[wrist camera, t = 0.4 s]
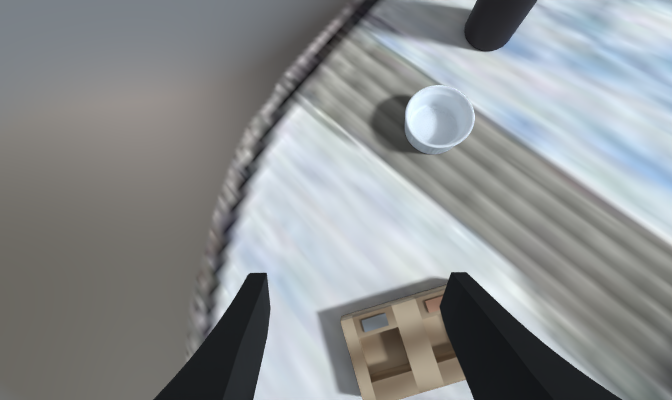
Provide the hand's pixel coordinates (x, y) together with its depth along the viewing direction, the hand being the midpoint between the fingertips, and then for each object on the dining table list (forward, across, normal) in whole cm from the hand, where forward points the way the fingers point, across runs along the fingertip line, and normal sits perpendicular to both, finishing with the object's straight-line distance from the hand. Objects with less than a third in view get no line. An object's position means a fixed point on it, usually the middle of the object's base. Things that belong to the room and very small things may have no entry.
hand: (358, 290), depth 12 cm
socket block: (+14, -11, +25) cm, 31 cm away
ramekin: (+33, -15, +4) cm, 37 cm away
